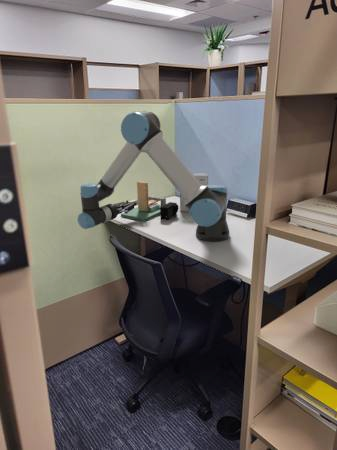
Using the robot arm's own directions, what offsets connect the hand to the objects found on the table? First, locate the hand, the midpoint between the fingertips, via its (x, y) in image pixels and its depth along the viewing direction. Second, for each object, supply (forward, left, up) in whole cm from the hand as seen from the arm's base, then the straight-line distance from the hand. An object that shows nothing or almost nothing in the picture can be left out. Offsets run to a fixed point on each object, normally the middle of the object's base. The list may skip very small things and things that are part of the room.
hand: (137, 201), depth 183 cm
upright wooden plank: (+9, -6, -6) cm, 13 cm away
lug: (+15, -9, -7) cm, 19 cm away
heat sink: (+8, -5, -7) cm, 12 cm away
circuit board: (+6, -4, -8) cm, 11 cm away
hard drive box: (+12, -30, -8) cm, 33 cm away
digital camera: (-2, -17, -8) cm, 19 cm away
